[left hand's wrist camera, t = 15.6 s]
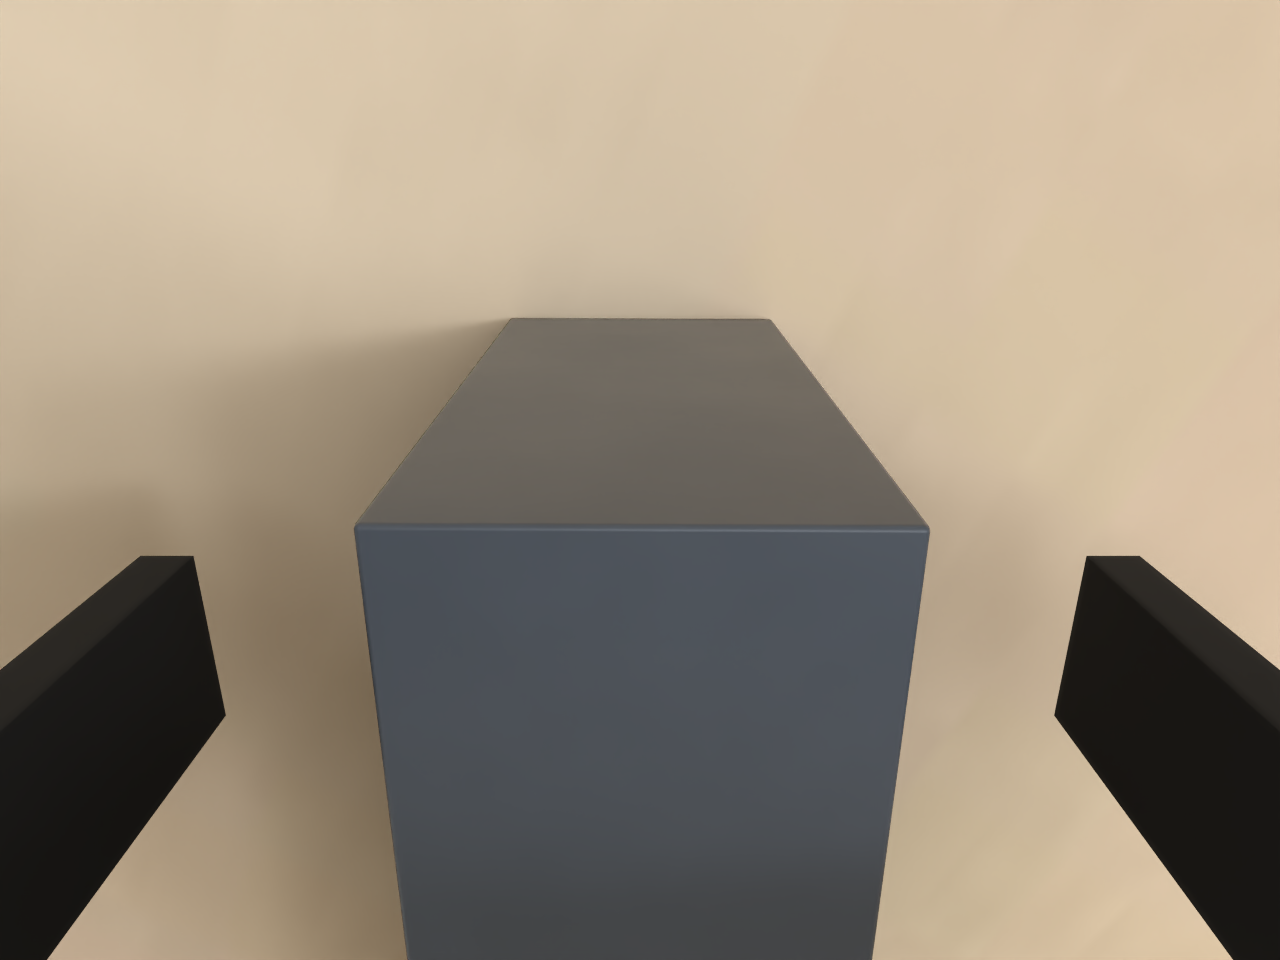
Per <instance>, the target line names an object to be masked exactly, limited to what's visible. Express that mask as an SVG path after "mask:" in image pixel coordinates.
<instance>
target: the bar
mask: <svg viewBox="0 0 1280 960" xmlns="http://www.w3.org/2000/svg"><path fill="white" fill-rule="evenodd" d="M354 533H355V541H356V549H357V557H358V565H359V573H360V581H361V589H362V597H363V606H364V614H365V622H366V630H367V638H368V646H369V654H370V662H371V670H372V678H373V686H374V694H375V702H376V710H377V718H378V726H379V734H380V742H381V751H382V759H383V767H384V775H385V783H386V791H387V799H388V807H389V815H390V823H391V831H392V839H393V847H394V855H395V863H396V871H397V879H398V887H399V896H400V904H401V912H402V920H403V928H404V936H405V944H406V952H407V960H872V956H873V948H874V941H875V933H876V926H877V919H878V911H879V904H880V897H881V889H882V882H883V874H884V867H885V860H886V852H887V845H888V837H889V830H890V823H891V815H892V808H893V801H894V793H895V786H896V778H897V771H898V764H899V756H900V749H901V742H902V734H903V727H904V719H905V712H906V705H907V697H908V690H909V683H910V675H911V668H912V660H913V653H914V646H915V638H916V631H917V623H918V616H919V609H920V601H921V594H922V587H923V579H924V572H925V564H926V557H927V550H928V542H929V535H930V529H929V526H928V525H927V523H926V522H925V521H924V519H923V518H922V517H921V516H920V514H919V513H918V512H917V510H916V509H915V508H914V506H913V505H912V504H911V502H910V501H909V500H908V499H907V497H906V496H905V495H904V493H903V492H902V491H901V489H900V488H899V487H898V485H897V484H896V483H895V482H894V480H893V479H892V478H891V476H890V475H889V474H888V472H887V471H886V470H885V468H884V467H883V466H882V465H881V463H880V462H879V461H878V459H877V458H876V457H875V455H874V454H873V453H872V451H871V450H870V449H869V448H868V446H867V445H866V444H865V442H864V441H863V440H862V438H861V437H860V436H859V434H858V433H857V432H856V431H855V429H854V428H853V427H852V425H851V424H850V423H849V421H848V420H847V419H846V417H845V416H844V415H843V414H842V412H841V411H840V410H839V408H838V407H837V406H836V404H835V403H834V402H833V400H832V399H831V398H830V397H829V395H828V394H827V393H826V391H825V390H824V389H823V387H822V386H821V385H820V383H819V382H818V381H817V380H816V378H815V377H814V376H813V374H812V373H811V372H810V370H809V369H808V368H807V366H806V365H805V364H804V363H803V361H802V360H801V359H800V357H799V356H798V355H797V353H796V352H795V351H794V349H793V348H792V347H791V346H790V344H789V343H788V342H787V340H786V339H785V338H784V336H783V335H782V334H781V332H780V331H779V330H778V329H777V327H776V326H775V325H774V323H773V322H772V321H771V320H764V319H532V318H513V319H511V320H510V321H509V322H508V323H507V325H506V326H505V327H504V329H503V330H502V331H501V333H500V334H499V335H498V337H497V338H496V339H495V341H494V342H493V343H492V345H491V346H490V347H489V349H488V350H487V351H486V352H485V354H484V355H483V356H482V358H481V359H480V360H479V362H478V363H477V364H476V366H475V367H474V368H473V370H472V371H471V372H470V374H469V375H468V376H467V378H466V379H465V380H464V381H463V383H462V384H461V385H460V387H459V388H458V389H457V391H456V392H455V393H454V395H453V396H452V397H451V399H450V400H449V401H448V403H447V404H446V405H445V407H444V408H443V409H442V410H441V412H440V413H439V414H438V416H437V417H436V418H435V420H434V421H433V422H432V424H431V425H430V426H429V428H428V429H427V430H426V432H425V433H424V434H423V435H422V437H421V438H420V439H419V441H418V442H417V443H416V445H415V446H414V447H413V449H412V450H411V451H410V453H409V454H408V455H407V457H406V458H405V459H404V461H403V462H402V463H401V464H400V466H399V467H398V468H397V470H396V471H395V472H394V474H393V475H392V476H391V478H390V479H389V480H388V482H387V483H386V484H385V486H384V487H383V488H382V490H381V491H380V492H379V493H378V495H377V496H376V497H375V499H374V500H373V501H372V503H371V504H370V505H369V507H368V508H367V509H366V511H365V512H364V513H363V515H362V516H361V517H360V519H359V520H358V521H357V522H356V524H355V527H354Z"/></svg>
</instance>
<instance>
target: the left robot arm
mask: <svg viewBox="0 0 1280 960" xmlns="http://www.w3.org/2000/svg"><path fill="white" fill-rule="evenodd" d="M225 716H226V714H225V709H224V704H223V699H222V695H221V690H220V685H219V680H218V675H217V670H216V665H215V660H214V655H213V650H212V645H211V640H210V635H209V631H208V626H207V621H206V616H205V611H204V606H203V601H202V596H201V591H200V586H199V581H198V576H197V572H196V567H195V562H194V557H193V556H140V557H139V558H137V559H136V560H135V561H134V562H133V563H131V564H130V565H129V566H128V567H126V568H125V569H124V570H123V571H121V572H120V573H119V574H118V575H117V576H115V577H114V578H113V579H112V580H110V581H109V582H108V583H107V584H106V585H104V586H103V587H102V588H101V589H99V590H98V591H97V592H96V593H94V594H93V595H92V596H91V597H90V598H88V599H87V600H86V601H85V602H83V603H82V604H81V605H80V606H78V607H77V608H76V609H75V610H74V611H72V612H71V613H70V614H69V615H67V616H66V617H65V618H64V619H62V620H61V621H60V622H59V623H58V624H56V625H55V626H54V627H53V628H51V629H50V630H49V631H48V632H47V633H45V634H44V635H43V636H42V637H40V638H39V639H38V640H37V641H35V642H34V643H33V644H32V645H31V646H29V647H28V648H27V649H26V650H24V651H23V652H22V653H21V654H19V655H18V656H17V657H16V658H15V659H13V660H12V661H11V662H10V663H8V664H7V665H6V666H5V667H4V668H2V669H1V670H0V960H47V959H48V957H49V956H50V955H51V953H52V952H53V951H54V949H55V948H56V947H57V945H58V944H59V942H60V941H61V940H62V938H63V937H64V936H65V934H66V933H67V932H68V930H69V929H70V927H71V926H72V925H73V923H74V922H75V921H76V919H77V918H78V917H79V915H80V914H81V912H82V911H83V910H84V908H85V907H86V906H87V904H88V903H89V901H90V900H91V899H92V897H93V896H94V895H95V893H96V892H97V891H98V889H99V888H100V886H101V885H102V884H103V882H104V881H105V880H106V878H107V877H108V876H109V874H110V873H111V871H112V870H113V869H114V867H115V866H116V865H117V863H118V862H119V861H120V859H121V858H122V856H123V855H124V854H125V852H126V851H127V850H128V848H129V847H130V845H131V844H132V843H133V841H134V840H135V839H136V837H137V836H138V835H139V833H140V832H141V830H142V829H143V828H144V826H145V825H146V824H147V822H148V821H149V820H150V818H151V817H152V815H153V814H154V813H155V811H156V810H157V809H158V807H159V806H160V805H161V803H162V802H163V800H164V799H165V798H166V796H167V795H168V794H169V792H170V791H171V789H172V788H173V787H174V785H175V784H176V783H177V781H178V780H179V779H180V777H181V776H182V774H183V773H184V772H185V770H186V769H187V768H188V766H189V765H190V764H191V762H192V761H193V759H194V758H195V757H196V755H197V754H198V753H199V751H200V750H201V749H202V747H203V746H204V744H205V743H206V742H207V740H208V739H209V738H210V736H211V735H212V733H213V732H214V731H215V729H216V728H217V727H218V725H219V724H220V723H221V721H222V720H223V718H224V717H225ZM1054 716H1055V717H1056V718H1057V720H1058V721H1059V723H1060V724H1061V725H1062V727H1063V728H1064V729H1065V731H1066V732H1067V733H1068V735H1069V736H1070V738H1071V739H1072V740H1073V742H1074V743H1075V744H1076V746H1077V747H1078V748H1079V750H1080V751H1081V753H1082V754H1083V755H1084V757H1085V758H1086V759H1087V761H1088V762H1089V764H1090V765H1091V766H1092V768H1093V769H1094V770H1095V772H1096V773H1097V774H1098V776H1099V777H1100V779H1101V780H1102V781H1103V783H1104V784H1105V785H1106V787H1107V788H1108V789H1109V791H1110V792H1111V794H1112V795H1113V796H1114V798H1115V799H1116V800H1117V802H1118V803H1119V804H1120V806H1121V807H1122V809H1123V810H1124V811H1125V813H1126V814H1127V815H1128V817H1129V818H1130V820H1131V821H1132V822H1133V824H1134V825H1135V826H1136V828H1137V829H1138V830H1139V832H1140V833H1141V835H1142V836H1143V837H1144V839H1145V840H1146V841H1147V843H1148V844H1149V845H1150V847H1151V848H1152V850H1153V851H1154V852H1155V854H1156V855H1157V856H1158V858H1159V859H1160V860H1161V862H1162V863H1163V865H1164V866H1165V867H1166V869H1167V870H1168V871H1169V873H1170V874H1171V876H1172V877H1173V878H1174V880H1175V881H1176V882H1177V884H1178V885H1179V886H1180V888H1181V889H1182V891H1183V892H1184V893H1185V895H1186V896H1187V897H1188V899H1189V900H1190V901H1191V903H1192V904H1193V906H1194V907H1195V908H1196V910H1197V911H1198V912H1199V914H1200V915H1201V916H1202V918H1203V919H1204V921H1205V922H1206V923H1207V925H1208V926H1209V927H1210V929H1211V930H1212V932H1213V933H1214V934H1215V936H1216V937H1217V938H1218V940H1219V941H1220V942H1221V944H1222V945H1223V947H1224V948H1225V949H1226V951H1227V952H1228V953H1229V955H1230V956H1231V957H1232V959H1233V960H1280V670H1279V669H1278V668H1277V667H1275V666H1274V665H1273V664H1272V663H1270V662H1269V661H1268V660H1267V659H1265V658H1264V657H1263V656H1262V655H1261V654H1259V653H1258V652H1257V651H1256V650H1254V649H1253V648H1252V647H1251V646H1249V645H1248V644H1247V643H1246V642H1245V641H1243V640H1242V639H1241V638H1240V637H1238V636H1237V635H1236V634H1235V633H1233V632H1232V631H1231V630H1230V629H1229V628H1227V627H1226V626H1225V625H1224V624H1222V623H1221V622H1220V621H1219V620H1218V619H1216V618H1215V617H1214V616H1213V615H1211V614H1210V613H1209V612H1208V611H1206V610H1205V609H1204V608H1203V607H1202V606H1200V605H1199V604H1198V603H1197V602H1195V601H1194V600H1193V599H1192V598H1190V597H1189V596H1188V595H1187V594H1186V593H1184V592H1183V591H1182V590H1181V589H1179V588H1178V587H1177V586H1176V585H1175V584H1173V583H1172V582H1171V581H1170V580H1168V579H1167V578H1166V577H1165V576H1163V575H1162V574H1161V573H1160V572H1159V571H1157V570H1156V569H1155V568H1154V567H1152V566H1151V565H1150V564H1149V563H1147V562H1146V561H1145V560H1144V559H1143V558H1141V557H1140V556H1087V557H1086V562H1085V567H1084V572H1083V577H1082V581H1081V586H1080V591H1079V596H1078V601H1077V606H1076V611H1075V616H1074V621H1073V626H1072V631H1071V636H1070V641H1069V645H1068V650H1067V655H1066V660H1065V665H1064V670H1063V675H1062V680H1061V685H1060V690H1059V695H1058V700H1057V704H1056V709H1055V714H1054Z"/></svg>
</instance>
